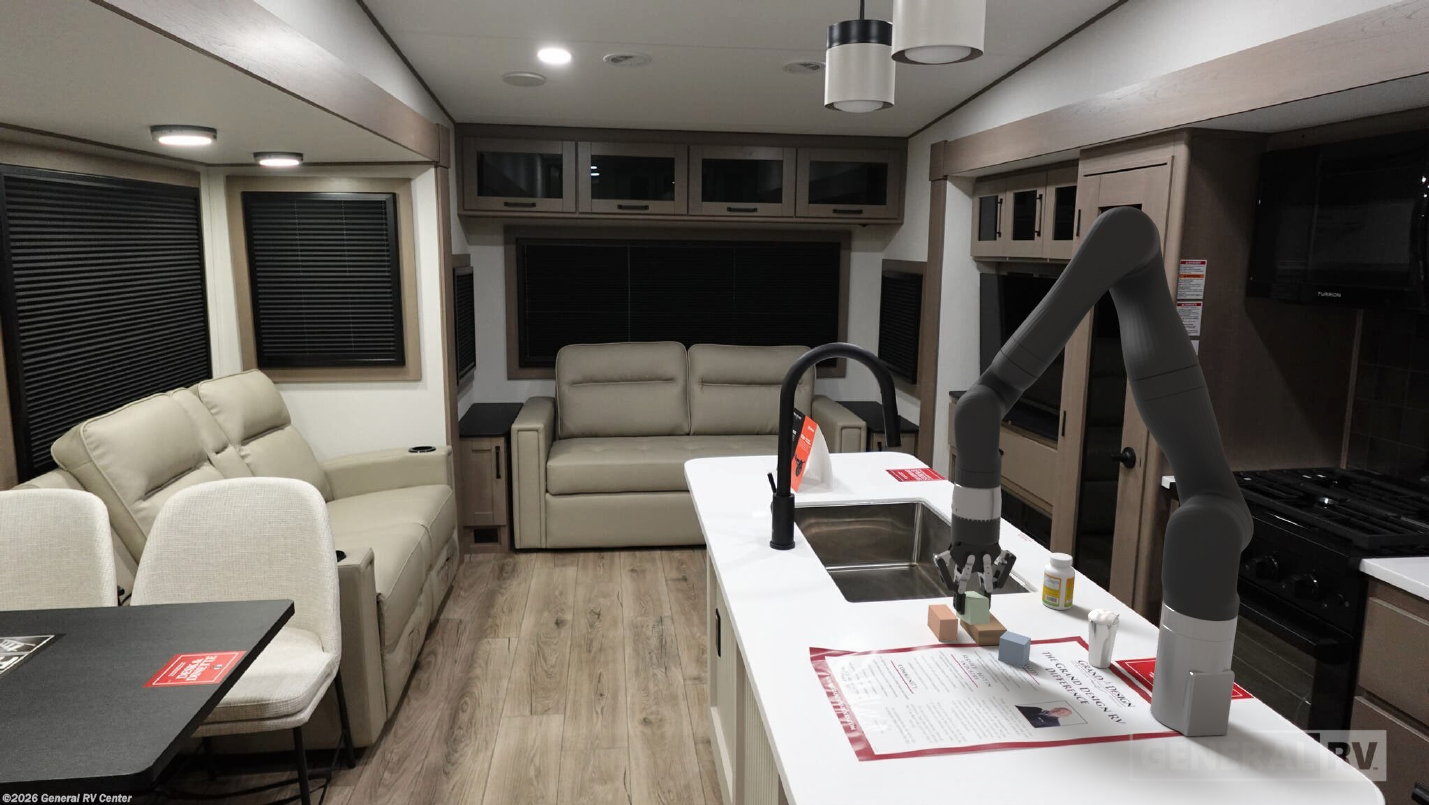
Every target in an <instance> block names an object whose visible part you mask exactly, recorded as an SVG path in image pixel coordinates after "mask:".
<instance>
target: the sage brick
mask: <svg viewBox="0 0 1429 805" xmlns="http://www.w3.org/2000/svg"><path fill="white" fill-rule="evenodd" d="M964 593H965V594H966V597H965V614H964V615H960V614H959V613H958V612H957V611H956V610H955V616H956V617H957V618H958V619H959V620H960V619H962V620H963V621H965V622H966V623H968V624H970V625H979V624H990V615H989V611H990V610H989V599H988V598H986V597H984V596H982V595H980V594H978V592H977V591H975V590H968V591H966V590H965V592H964Z"/></svg>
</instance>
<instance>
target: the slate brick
mask: <svg viewBox="0 0 1429 805" xmlns="http://www.w3.org/2000/svg"><path fill="white" fill-rule="evenodd" d="M1031 643H1032V637H1029V636H1025V635H1022V634H1019V633H1015V632H1014V631H1013V632H1012V631H1008V630H1007V631H1006V632H1005V633H1004V634H1003V635H1002V636H1001V637H1000V642H999V644H998V656H997V660H998V661H999V662H1000V661H1001V662H1003V663H1007V664H1010V665H1013V666H1016V667H1020V668H1024V666H1025V665H1026V664H1027V663H1028V662H1029V661H1030V652H1031Z"/></svg>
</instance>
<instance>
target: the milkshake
mask: <svg viewBox="0 0 1429 805" xmlns="http://www.w3.org/2000/svg"><path fill="white" fill-rule="evenodd" d="M1120 615H1121V614H1119V613H1118V614H1115V612H1113V611H1110V610H1108V609H1106V608H1096V609H1093V610H1091V611H1090V612H1088V615H1087V616H1088V620H1087V621H1088V622H1087V623H1088V656H1087V657H1088V665H1089V664H1090V665H1091V666H1092V667H1096V668H1099V669H1108V668H1109V667H1110V666H1111V662H1112V656H1113V651H1114V647H1115V646H1114V645H1115V640H1116V635H1117V633H1118V627H1119V623H1120V619H1119V617H1120Z"/></svg>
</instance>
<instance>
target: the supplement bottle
mask: <svg viewBox="0 0 1429 805" xmlns="http://www.w3.org/2000/svg"><path fill="white" fill-rule="evenodd" d="M1048 558H1049V562H1048V564H1046V565H1045V566H1044V571H1043V572H1044V573H1043V584H1042V585H1043V586H1042V597H1041V602H1042V604H1043V605H1044V606H1046V607H1048V608H1049V609H1054V610H1057V611H1058V610H1059V611H1066V610H1070V609H1071V608H1072V607H1073V602H1074V601H1073V600H1074V591H1075V590H1074V589H1075V581H1076V580H1075V578H1076V570H1075V569H1074V568H1073V567H1072V565H1073V556H1072V555H1069V554H1066V553H1063V552H1053V553H1052V552H1051V553H1050V554H1049V557H1048Z"/></svg>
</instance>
